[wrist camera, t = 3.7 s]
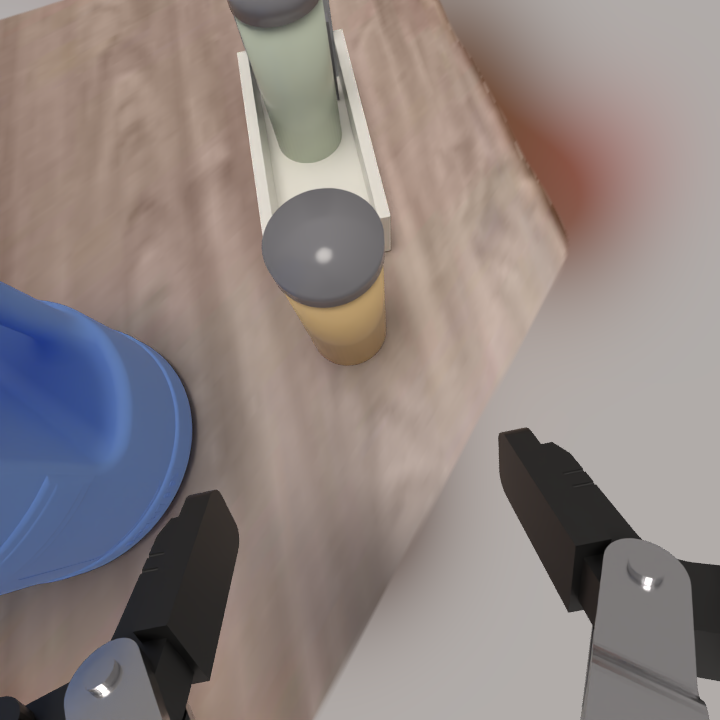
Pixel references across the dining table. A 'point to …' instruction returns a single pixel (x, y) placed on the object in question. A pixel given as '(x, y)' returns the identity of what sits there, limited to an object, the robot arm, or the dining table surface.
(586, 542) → the robot arm
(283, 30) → the sage jar
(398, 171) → the dining table surface
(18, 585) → the water jug
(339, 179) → the jar lane
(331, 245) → the honey jar
